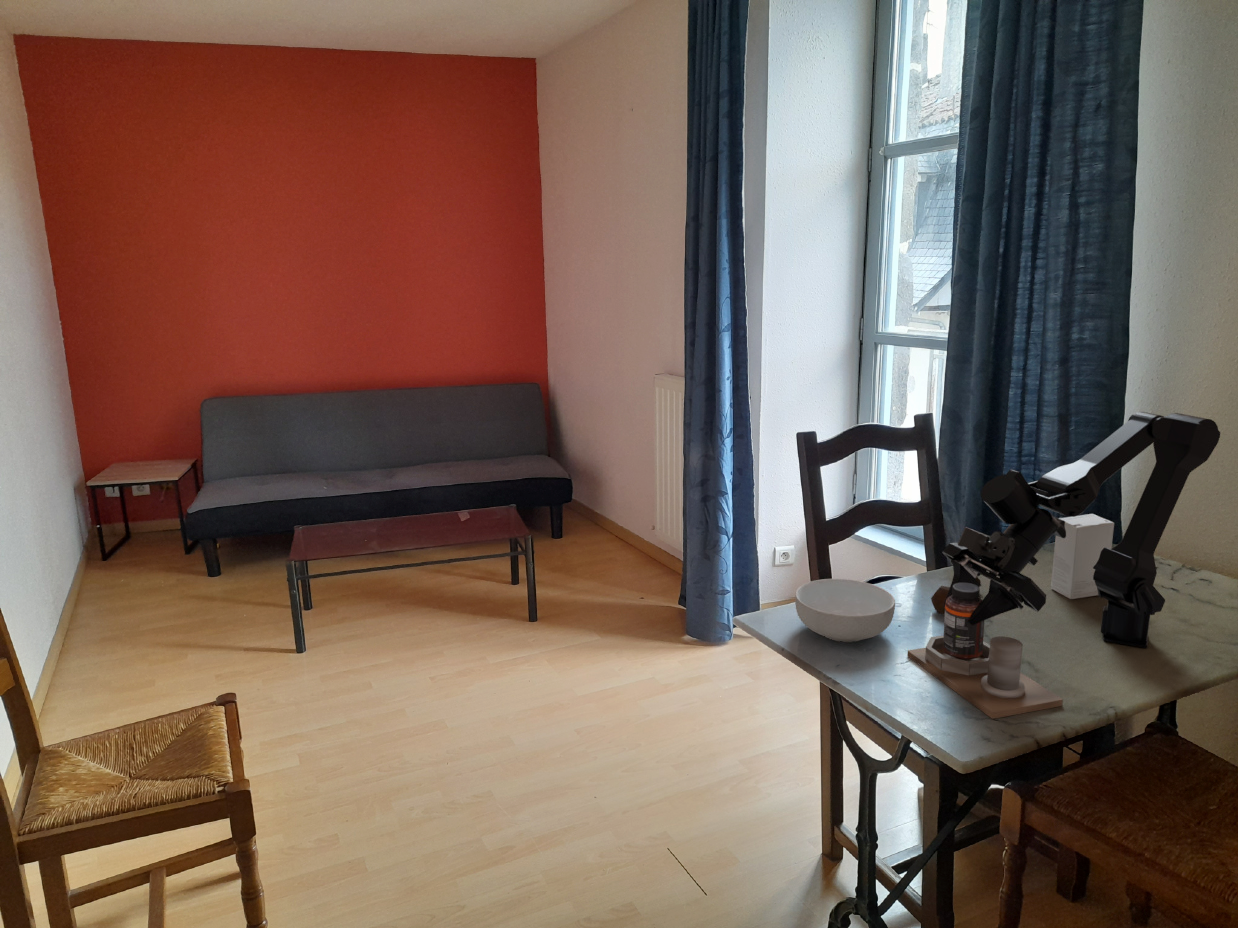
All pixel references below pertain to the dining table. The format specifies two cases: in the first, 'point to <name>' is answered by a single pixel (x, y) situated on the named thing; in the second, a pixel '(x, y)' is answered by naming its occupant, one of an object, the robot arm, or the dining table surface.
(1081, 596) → the skincare box
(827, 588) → the cereal bowl
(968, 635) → the supplement bottle
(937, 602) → the bolt
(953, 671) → the pin board
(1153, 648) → the dining table surface
